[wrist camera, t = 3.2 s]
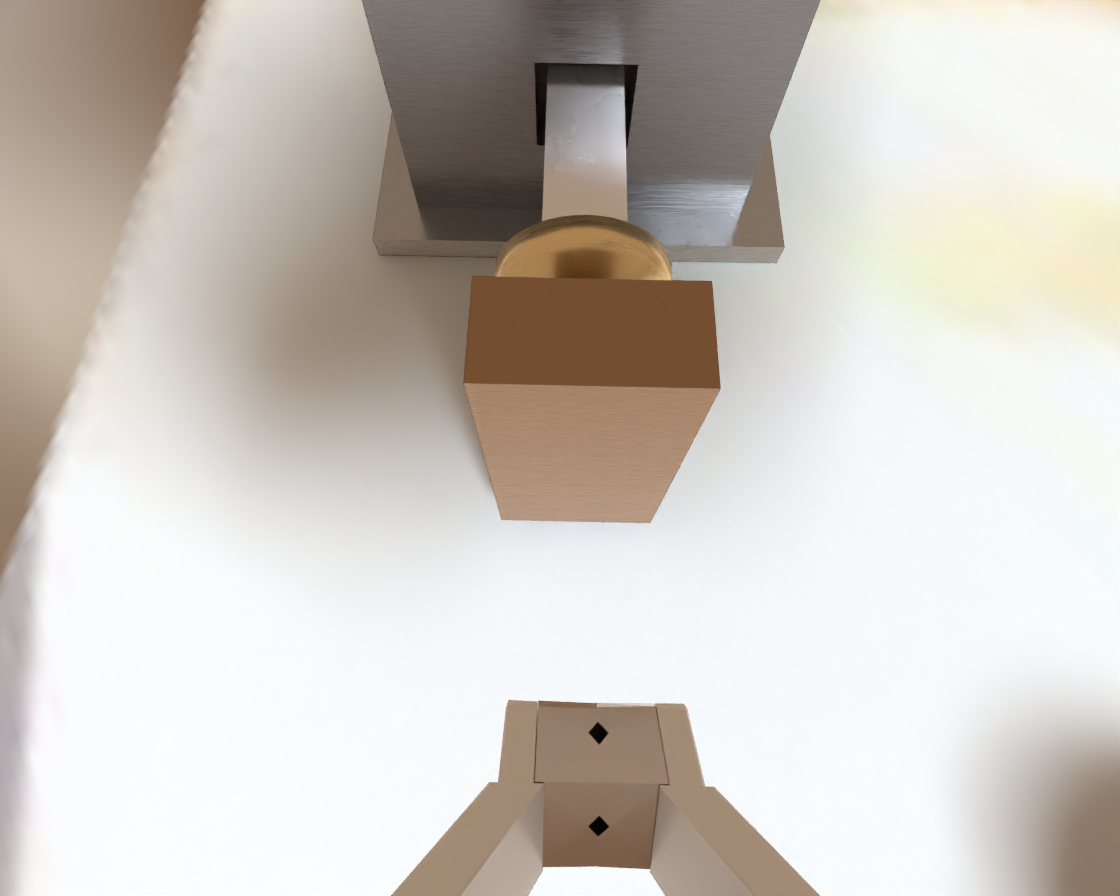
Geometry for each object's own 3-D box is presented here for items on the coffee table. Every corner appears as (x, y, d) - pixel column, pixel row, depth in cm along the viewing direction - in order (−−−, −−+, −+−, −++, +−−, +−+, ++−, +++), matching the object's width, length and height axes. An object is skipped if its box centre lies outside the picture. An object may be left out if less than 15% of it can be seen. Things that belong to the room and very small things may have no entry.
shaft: (655, 523, 26) (728, 388, 15) (496, 519, 26) (454, 383, 15) (641, 131, 34) (684, -148, 23) (518, 128, 34) (501, -153, 23)
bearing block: (776, 263, 33) (908, 0, 21) (378, 254, 33) (275, -14, 21) (746, 16, 40) (832, -294, 27) (414, 9, 40) (352, -304, 27)
